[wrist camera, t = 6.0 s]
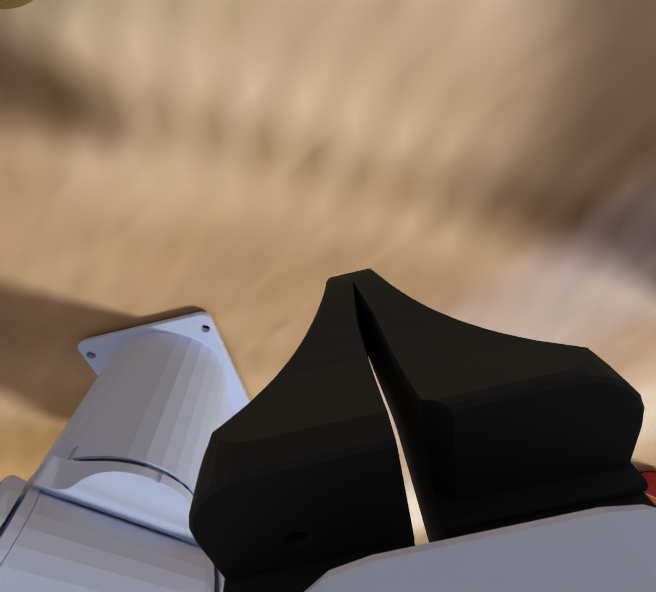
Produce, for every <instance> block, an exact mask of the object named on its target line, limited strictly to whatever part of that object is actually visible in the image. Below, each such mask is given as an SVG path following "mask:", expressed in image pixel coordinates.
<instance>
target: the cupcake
mask: <svg viewBox="0 0 656 592" xmlns="http://www.w3.org/2000/svg"><path fill="white" fill-rule="evenodd" d="M31 1H32V0H0V9H9V8H16V7H20V6H23V5H25V4H27V3H29V2H31Z"/></svg>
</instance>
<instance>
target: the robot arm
mask: <svg viewBox="0 0 656 592" xmlns="http://www.w3.org/2000/svg"><path fill="white" fill-rule="evenodd" d="M203 325H207V326H209V328H208V329H206V328H204V327H203ZM77 348H78V350H79V352H80V353H81V355H82V356H83V357H84V359H85V360H86V361H87V363H88V364H89V366H90V367H91V368H92V370H93V371H94V372H95V374H96V375H97V379H96V380H95V382H94V383H93V385H92V386H91V388H90V389H89V391H88V392H87V394H86V395H85V397H84V398H83V400H82V402H81V403H80V405H79V406H78V408H77V409H76V411H75V412H74V414H73V415H72V417H71V418H70V420H69V421H68V423H67V424H66V426H65V427H64V429H63V430H62V432H61V434H60V435H59V437H58V438H57V440H56V441H55V443H54V444H53V446H52V447H51V449H50V450H49V452H48V453H47V455H46V456H45V458H44V459H43V461H42V463H41V464H40V466H39V467H38V469H37V470H36V472H35V473H34V474H33V475H32V476H31V477H30V479H29V480H28V481H25V480H23V479H21V478H19V477H17V476H15V475H10V476H7V477H6V478H4V479H3V480H2V481H1V482H0V592H656V505H655V504H654V503H653V502H652V501H651V499H650V498H649V497H648V496H647V495H646V494H645V493H644V491H647V489H648V487H649V485H648V483H647V480H646V479H645V478H644V477H643V476H642V474H641V473H640V472H639V471H638V470H637V469H636V468H635V467H634V466H633V464H632V463H631V462H630V460H631V457H632V454H633V451H634V448H635V445H636V442H637V439H638V436H639V433H640V430H641V427H642V421H643V414H644V405H643V402H642V399H641V396H640V394H639V393H638V392H637V391H636V390H635V389H634V388H633V387H632V386H631V385H630V384H629V383H628V382H627V381H626V380H624V379H623V378H622V377H621V376H620V375H619V374H618V373H617V372H616V371H615V370H614V369H613V368H611V367H610V366H609V365H608V364H607V363H606V362H604V361H603V360H602V359H601V358H600V357H598V356H597V355H596V354H595V353H593V352H592V351H591V350H589V349H588V348H585V347H578V346H571V345H564V344H557V343H550V342H543V341H536V340H531V339H526V338H522V337H517V336H512V335H508V334H503V333H499V332H495V331H491V330H488V329H484V328H481V327H478V326H475V325H472V324H468V323H465V322H462V321H460V320H457V319H454V318H452V317H449V316H447V315H445V314H442V313H440V312H437V311H435V310H433V309H431V308H429V307H427V306H425V305H423V304H421V303H419V302H417V301H416V300H414V299H412V298H410V297H409V296H407V295H406V294H404V293H403V292H401V291H400V290H398V289H397V288H395V287H394V286H392V285H391V284H389V283H388V282H387V281H385V280H384V279H383V278H382V277H380V276H379V275H378V274H377V273H375V272H374V271H373V270H371V269H370V268H369V269H365V270H361V271H356V272H352V273H348V274H344V275H339V276H335V277H331V278H329V279H328V281H327V282H326V288H325V292H324V295H323V298H322V301H321V304H320V306H319V309H318V311H317V314H316V316H315V318H314V320H313V322H312V324H311V326H310V328H309V330H308V332H307V334H306V336H305V337H304V339H303V341H302V343H301V344H300V346H299V347H298V349H297V350H296V352H295V353H294V355H293V356H292V357H291V359H290V360H289V361H288V363H287V364H286V365H285V366H284V367H283V369H282V370H281V371H280V372H279V373H278V375H277V376H276V377H275V378H274V379H273V380H272V381H271V382H270V383H269V384H268V385H267V386H266V387H265V388H264V389H263V390H262V391H261V392H260V393H259V394H258V395H257V396H256V397H255V398H254V399H253V400H252V401H251V402H250V400H249V397H248V395H247V393H246V391H245V389H244V386H243V384H242V382H241V380H240V378H239V376H238V373H237V371H236V369H235V367H234V365H233V363H232V360H231V358H230V356H229V354H228V352H227V350H226V347H225V345H224V343H223V341H222V339H221V336H220V334H219V332H218V330H217V328H216V326H215V323H214V321H213V319H212V317H211V315H210V314H209V313H207V312H204V311H202V312H196V313H192V314H188V315H183V316H179V317H175V318H171V319H166V320H162V321H158V322H154V323H149V324H145V325H141V326H137V327H132V328H128V329H124V330H120V331H116V332H111V333H107V334H103V335H99V336H94V337H90V338H86V339H83V340H81V342H80V343H79V344H78V346H77ZM90 352H92V353H94V354H95V355H93V354H91V353H90ZM368 356H369V358H368ZM369 359H370V361H371V364H372V366H373V369H374V371H375V374H376V376H377V379H378V381H379V384H380V386H381V389H382V391H383V394H384V396H385V399H386V401H387V404H388V406H389V409H390V411H391V414H392V416H393V419H394V422H395V425H396V428H397V431H398V435H399V438H400V442H401V445H402V448H403V452H404V455H405V459H406V462H407V466H408V469H409V473H410V476H411V480H412V483H413V487H414V490H415V494H416V497H417V501H418V504H419V508H420V512H421V515H422V519H423V522H424V526H425V529H426V533H427V537H428V540H429V543H426V544H422V545H417V546H415V543H414V540H415V539H414V534H413V528H412V523H411V518H410V512H409V507H408V502H407V496H406V491H405V486H404V480H403V475H402V469H401V464H400V459H399V453H398V448H397V443H396V439H395V436H394V432H393V429H392V426H391V422H390V419H389V415H388V412H387V409H386V407H385V404H384V402H383V399H382V396H381V394H380V391H379V388H378V385H377V383H376V380H375V377H374V374H373V371H372V368H371V365H370V362H369Z"/></svg>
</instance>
